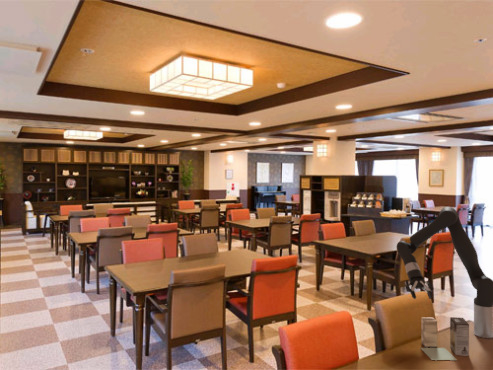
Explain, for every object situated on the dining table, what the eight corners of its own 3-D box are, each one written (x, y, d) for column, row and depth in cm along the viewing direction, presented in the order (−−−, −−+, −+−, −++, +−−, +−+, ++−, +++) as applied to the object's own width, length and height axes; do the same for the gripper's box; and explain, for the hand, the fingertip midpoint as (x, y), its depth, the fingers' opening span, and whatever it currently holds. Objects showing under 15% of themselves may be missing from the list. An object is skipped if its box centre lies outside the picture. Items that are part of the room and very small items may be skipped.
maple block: (421, 343, 202) (421, 317, 201) (432, 343, 201) (432, 317, 201) (425, 347, 197) (425, 320, 196) (437, 347, 196) (437, 320, 196)
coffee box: (449, 347, 197) (449, 316, 196) (463, 348, 195) (462, 317, 195) (455, 355, 188) (455, 323, 187) (469, 356, 186) (469, 324, 186)
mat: (420, 348, 196) (420, 347, 196) (444, 348, 195) (444, 347, 195) (432, 360, 183) (432, 359, 183) (457, 360, 182) (457, 359, 182)
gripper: (403, 268, 215) (412, 295, 203) (428, 268, 215) (438, 295, 204) (399, 275, 220) (407, 301, 209) (423, 275, 220) (433, 301, 209)
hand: (422, 298), depth 206 cm, fingers open, 8 cm apart
